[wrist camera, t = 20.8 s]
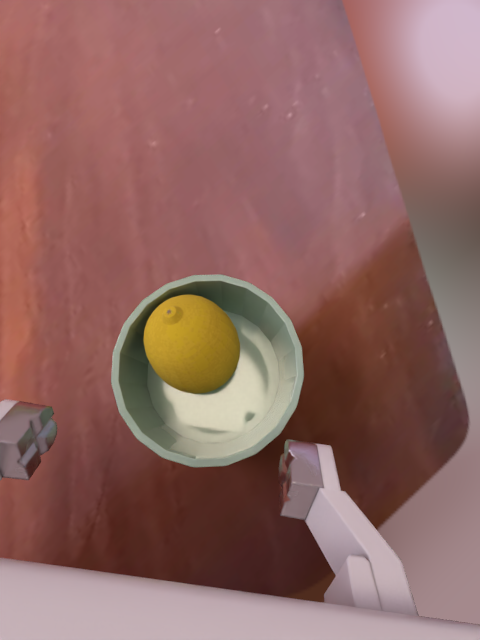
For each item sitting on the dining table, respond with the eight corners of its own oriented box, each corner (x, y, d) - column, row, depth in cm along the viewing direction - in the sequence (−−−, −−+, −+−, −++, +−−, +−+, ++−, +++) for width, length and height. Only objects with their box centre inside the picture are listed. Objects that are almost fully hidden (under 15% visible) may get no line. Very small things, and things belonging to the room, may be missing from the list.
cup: (287, 444, 23) (310, 462, 17) (141, 450, 23) (105, 471, 16) (278, 306, 26) (296, 273, 19) (146, 309, 26) (117, 276, 19)
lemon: (183, 337, 25) (135, 272, 19) (253, 336, 24) (227, 266, 17) (168, 407, 23) (105, 360, 16) (246, 410, 21) (212, 361, 15)
